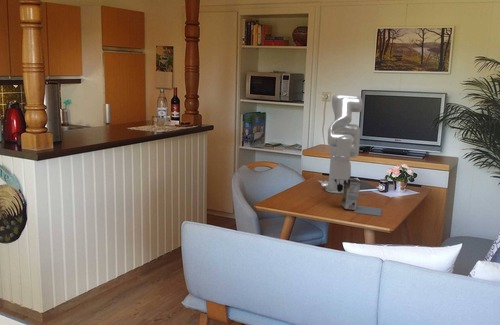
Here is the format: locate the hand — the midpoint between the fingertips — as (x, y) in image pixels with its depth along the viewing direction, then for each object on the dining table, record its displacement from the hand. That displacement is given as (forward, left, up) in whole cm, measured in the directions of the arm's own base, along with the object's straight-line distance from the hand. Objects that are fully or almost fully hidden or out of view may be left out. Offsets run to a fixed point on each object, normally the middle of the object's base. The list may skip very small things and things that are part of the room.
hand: (339, 191), depth 287 cm
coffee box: (+5, 0, -9) cm, 10 cm away
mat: (+16, 0, -9) cm, 19 cm away
